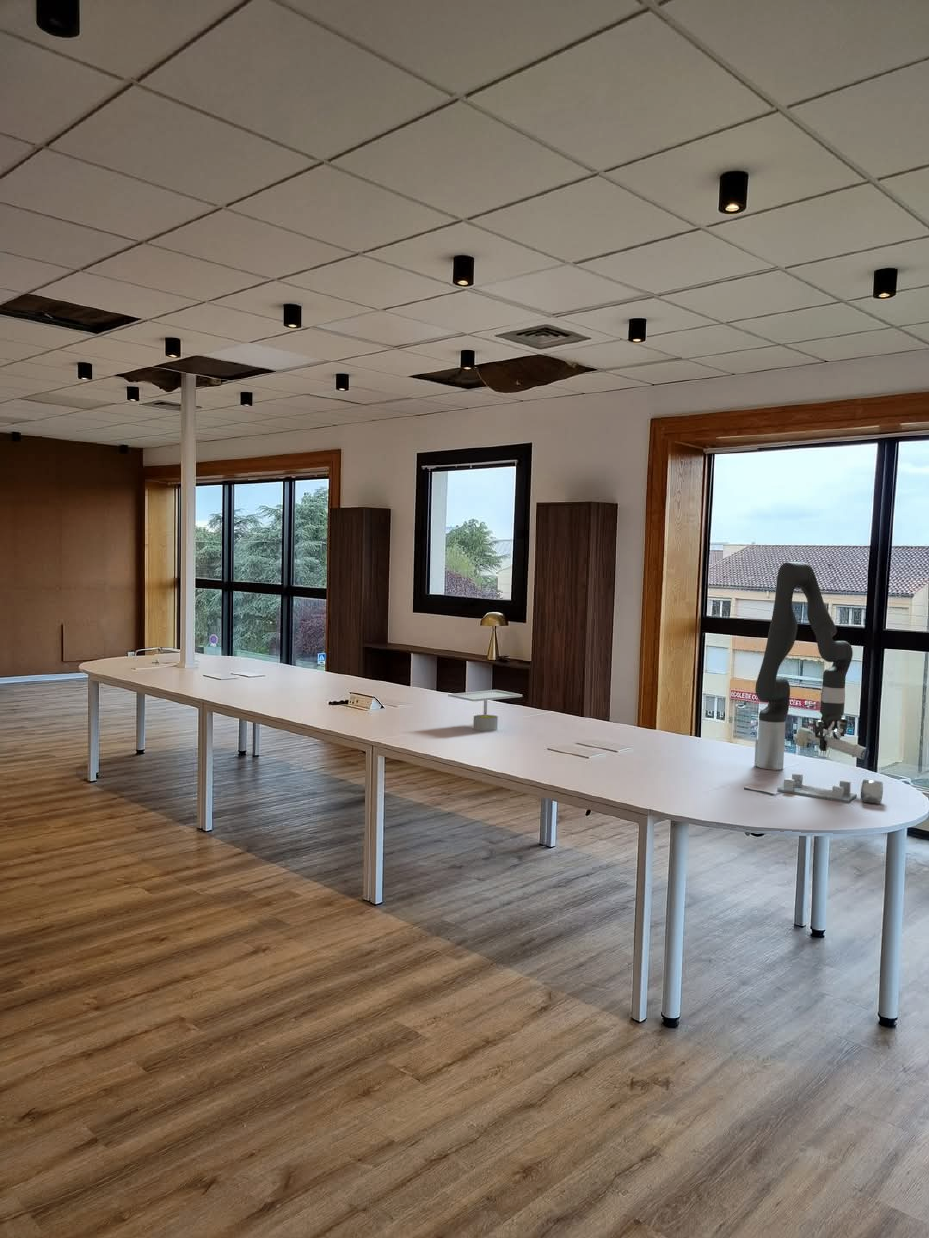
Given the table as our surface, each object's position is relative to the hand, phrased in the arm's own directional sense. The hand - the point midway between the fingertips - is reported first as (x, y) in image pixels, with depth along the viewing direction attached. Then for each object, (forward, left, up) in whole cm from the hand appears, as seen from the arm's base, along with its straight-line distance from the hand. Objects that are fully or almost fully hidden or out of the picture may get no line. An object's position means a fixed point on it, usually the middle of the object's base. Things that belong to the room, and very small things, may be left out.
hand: (828, 749), depth 309 cm
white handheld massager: (0, 0, -1) cm, 1 cm away
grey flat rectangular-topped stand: (-131, -57, -12) cm, 143 cm away
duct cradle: (+11, -12, -12) cm, 20 cm away
